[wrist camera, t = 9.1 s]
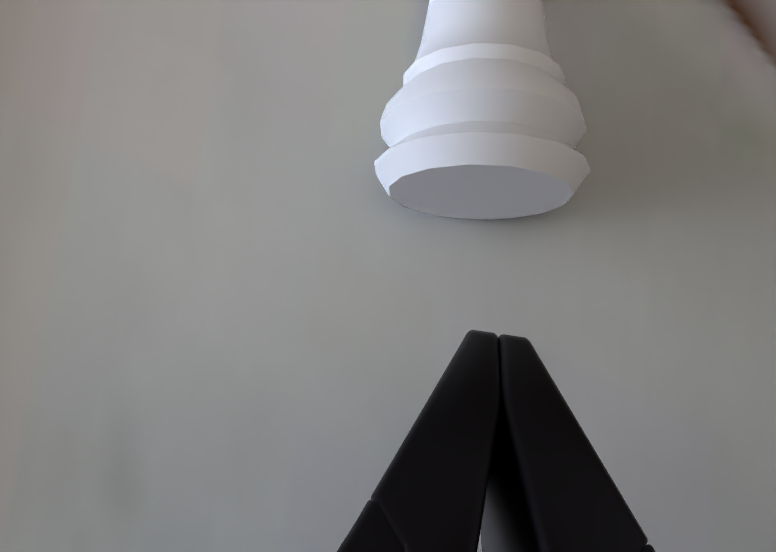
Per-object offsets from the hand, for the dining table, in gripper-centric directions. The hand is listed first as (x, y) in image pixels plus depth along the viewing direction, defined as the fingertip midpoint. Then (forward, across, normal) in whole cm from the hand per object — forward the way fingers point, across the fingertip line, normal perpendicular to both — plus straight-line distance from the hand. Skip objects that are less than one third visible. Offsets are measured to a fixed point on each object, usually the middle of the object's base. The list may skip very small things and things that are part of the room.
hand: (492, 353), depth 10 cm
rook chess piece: (+5, 0, +1) cm, 5 cm away
